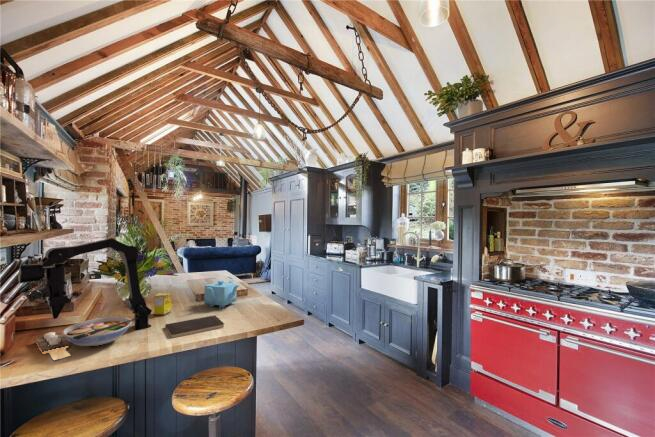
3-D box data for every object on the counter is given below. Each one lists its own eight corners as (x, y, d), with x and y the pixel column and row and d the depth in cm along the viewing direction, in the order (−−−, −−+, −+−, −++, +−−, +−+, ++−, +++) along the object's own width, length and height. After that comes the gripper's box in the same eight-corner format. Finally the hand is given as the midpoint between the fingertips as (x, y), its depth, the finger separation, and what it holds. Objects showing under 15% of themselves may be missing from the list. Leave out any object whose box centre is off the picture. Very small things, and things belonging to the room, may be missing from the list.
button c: (56, 339, 124) (56, 333, 124) (44, 341, 121) (45, 335, 121) (54, 337, 126) (54, 331, 126) (43, 339, 123) (43, 333, 124)
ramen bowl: (111, 328, 139) (111, 311, 139) (146, 336, 131) (146, 318, 131) (45, 350, 115) (45, 329, 115) (82, 362, 107) (83, 339, 107)
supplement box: (171, 312, 164) (171, 292, 165) (164, 316, 158) (164, 295, 159) (161, 312, 165) (161, 292, 165) (153, 315, 159) (153, 295, 159)
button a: (61, 345, 118) (61, 339, 118) (49, 348, 115) (50, 342, 115) (59, 343, 120) (59, 337, 120) (48, 345, 117) (48, 339, 117)
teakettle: (202, 303, 183) (203, 279, 183) (234, 299, 192) (234, 276, 192) (206, 311, 167) (206, 285, 167) (240, 307, 175) (240, 282, 176)
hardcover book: (224, 328, 143) (224, 323, 143) (171, 339, 129) (171, 334, 129) (214, 319, 155) (214, 314, 155) (165, 328, 142) (165, 323, 142)
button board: (70, 347, 119) (70, 342, 119) (42, 354, 112) (42, 349, 112) (60, 337, 129) (60, 332, 129) (34, 343, 123) (34, 337, 123)
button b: (58, 342, 121) (58, 336, 121) (47, 344, 118) (47, 338, 118) (56, 340, 123) (56, 334, 123) (45, 342, 120) (45, 336, 120)
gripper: (23, 279, 117) (22, 318, 117) (31, 286, 106) (30, 329, 106) (60, 275, 126) (60, 312, 126) (71, 281, 114) (71, 321, 114)
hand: (55, 318), depth 118 cm, fingers closed
